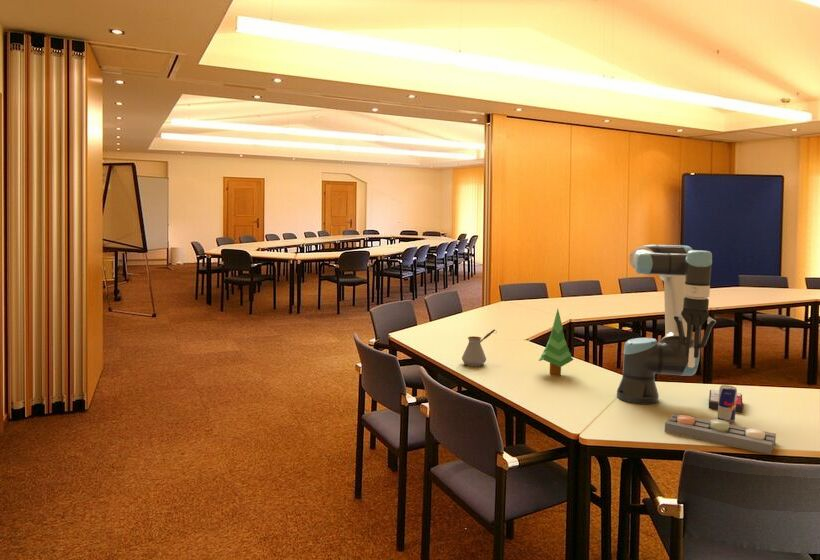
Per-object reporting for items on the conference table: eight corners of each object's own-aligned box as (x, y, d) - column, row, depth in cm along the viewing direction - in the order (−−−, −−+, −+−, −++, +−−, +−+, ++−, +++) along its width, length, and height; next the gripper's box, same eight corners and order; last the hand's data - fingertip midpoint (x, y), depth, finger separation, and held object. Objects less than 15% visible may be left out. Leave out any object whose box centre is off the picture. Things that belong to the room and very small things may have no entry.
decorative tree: (565, 370, 273) (567, 305, 270) (575, 379, 257) (578, 310, 254) (535, 370, 272) (538, 305, 269) (544, 379, 257) (547, 310, 254)
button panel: (664, 431, 196) (665, 422, 196) (673, 422, 205) (674, 413, 205) (770, 454, 178) (771, 445, 178) (775, 442, 188) (776, 433, 187)
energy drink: (727, 424, 204) (729, 390, 203) (713, 419, 209) (716, 385, 208) (738, 422, 206) (740, 388, 205) (724, 417, 211) (727, 384, 210)
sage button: (708, 431, 191) (709, 422, 191) (711, 427, 195) (712, 418, 195) (726, 435, 188) (727, 426, 188) (729, 430, 192) (730, 421, 192)
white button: (743, 441, 185) (744, 431, 185) (746, 436, 189) (747, 427, 189) (763, 445, 182) (763, 435, 182) (765, 440, 186) (766, 431, 186)
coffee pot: (475, 368, 273) (476, 336, 272) (456, 364, 282) (457, 332, 280) (503, 361, 288) (504, 330, 287) (485, 357, 296) (486, 327, 295)
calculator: (709, 399, 221) (709, 387, 234) (708, 410, 221) (709, 398, 234) (743, 404, 215) (742, 391, 229) (742, 415, 216) (741, 402, 229)
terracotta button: (675, 427, 197) (675, 418, 197) (678, 422, 201) (679, 414, 201) (692, 430, 194) (692, 421, 194) (695, 426, 198) (696, 417, 198)
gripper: (672, 296, 199) (667, 365, 202) (715, 300, 191) (710, 372, 194) (678, 293, 205) (673, 360, 208) (720, 297, 197) (715, 367, 200)
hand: (691, 366), depth 201 cm, fingers closed
